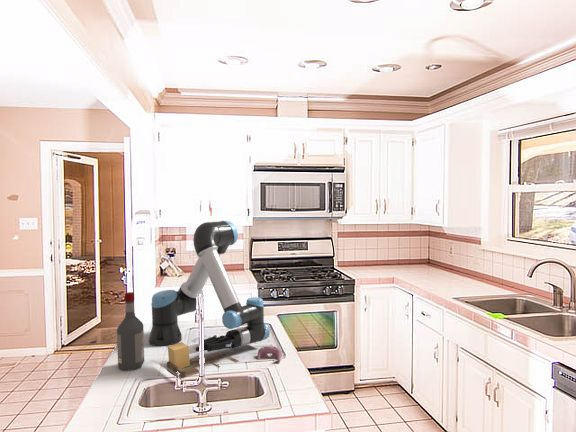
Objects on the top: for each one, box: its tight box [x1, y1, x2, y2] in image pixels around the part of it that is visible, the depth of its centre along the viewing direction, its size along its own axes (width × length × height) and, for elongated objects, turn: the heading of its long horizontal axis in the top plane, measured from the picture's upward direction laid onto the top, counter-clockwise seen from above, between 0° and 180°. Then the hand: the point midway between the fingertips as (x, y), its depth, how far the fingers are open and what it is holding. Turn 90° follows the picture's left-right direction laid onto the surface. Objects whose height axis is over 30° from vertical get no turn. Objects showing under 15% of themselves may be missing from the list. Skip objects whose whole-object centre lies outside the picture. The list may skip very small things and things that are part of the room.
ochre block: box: [167, 341, 191, 369], centre depth 175 cm, size 6×6×8 cm
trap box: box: [166, 351, 240, 379], centre depth 177 cm, size 14×25×4 cm, turn 130°
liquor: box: [116, 291, 145, 372], centre depth 179 cm, size 9×9×30 cm
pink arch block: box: [256, 345, 282, 364], centre depth 184 cm, size 10×5×7 cm, turn 85°
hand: (187, 350), depth 176 cm, fingers closed
